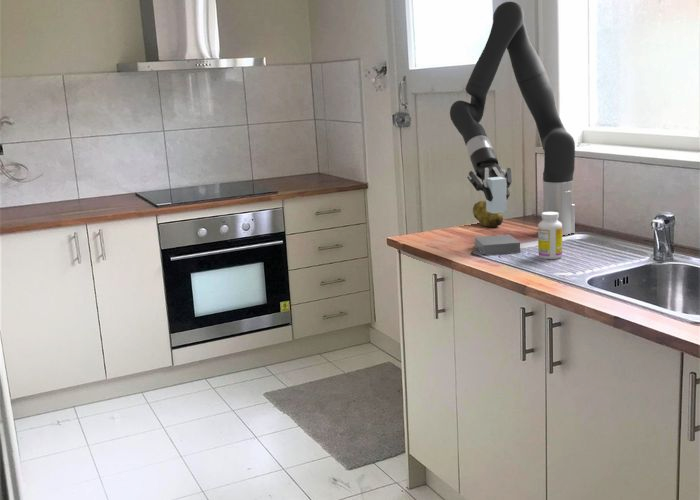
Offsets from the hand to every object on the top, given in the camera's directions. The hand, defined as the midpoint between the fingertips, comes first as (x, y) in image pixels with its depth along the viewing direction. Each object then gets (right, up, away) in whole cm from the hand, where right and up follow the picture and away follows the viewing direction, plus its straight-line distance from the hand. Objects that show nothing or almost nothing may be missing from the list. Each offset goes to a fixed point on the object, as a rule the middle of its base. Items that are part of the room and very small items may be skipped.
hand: (499, 198), depth 230 cm
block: (0, -4, +3) cm, 4 cm away
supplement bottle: (+14, -17, -6) cm, 23 cm away
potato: (+4, -7, +40) cm, 41 cm away
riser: (0, -15, +5) cm, 16 cm away
